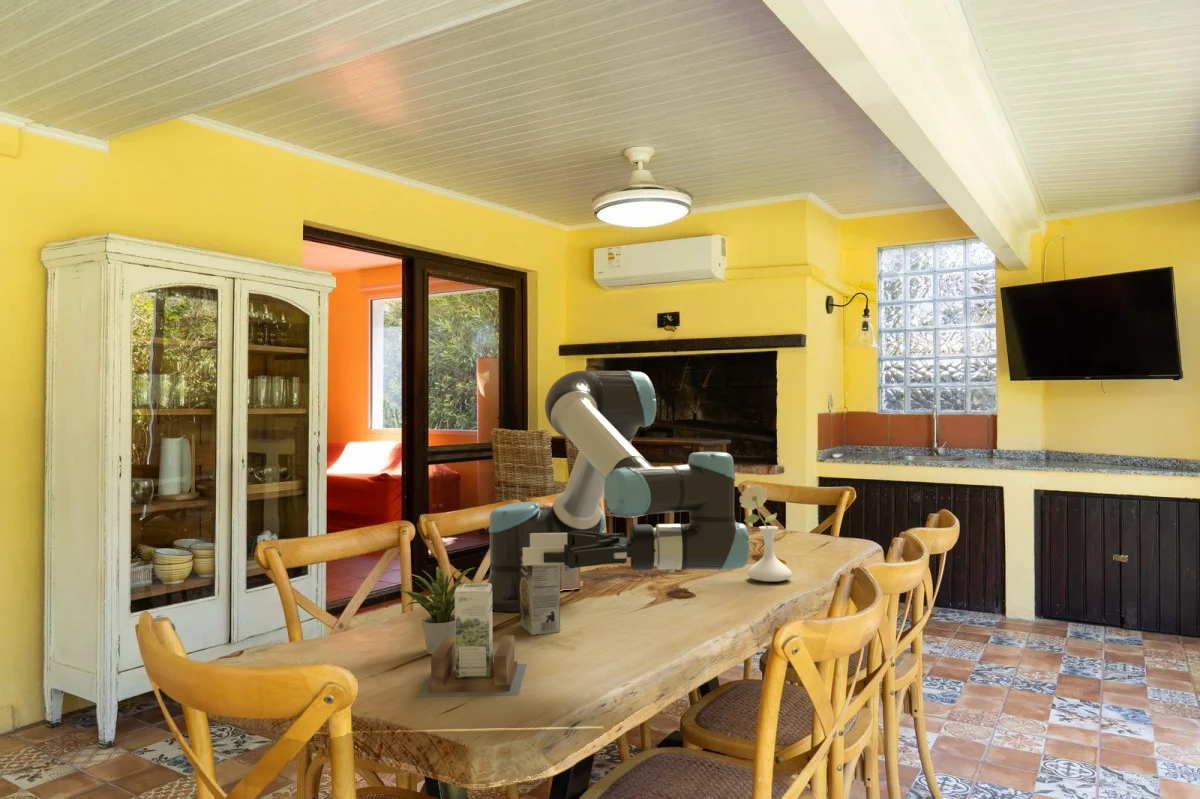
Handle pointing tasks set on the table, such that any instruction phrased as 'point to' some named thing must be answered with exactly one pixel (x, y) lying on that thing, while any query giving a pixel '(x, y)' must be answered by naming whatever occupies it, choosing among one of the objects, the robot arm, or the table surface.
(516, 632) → the table surface
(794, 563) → the table surface
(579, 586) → the cracker box
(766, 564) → the flower in vase
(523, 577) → the coffee box
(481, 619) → the syrup box
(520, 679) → the mat
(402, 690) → the table surface
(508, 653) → the rack
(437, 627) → the house plant
